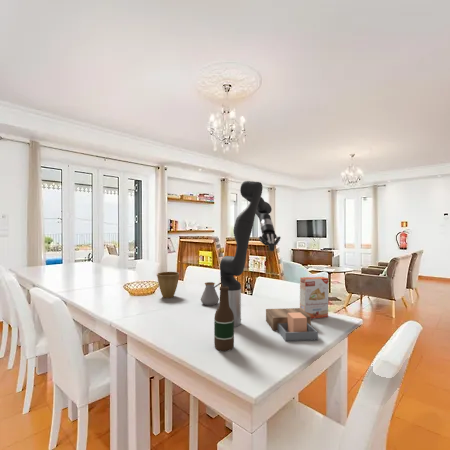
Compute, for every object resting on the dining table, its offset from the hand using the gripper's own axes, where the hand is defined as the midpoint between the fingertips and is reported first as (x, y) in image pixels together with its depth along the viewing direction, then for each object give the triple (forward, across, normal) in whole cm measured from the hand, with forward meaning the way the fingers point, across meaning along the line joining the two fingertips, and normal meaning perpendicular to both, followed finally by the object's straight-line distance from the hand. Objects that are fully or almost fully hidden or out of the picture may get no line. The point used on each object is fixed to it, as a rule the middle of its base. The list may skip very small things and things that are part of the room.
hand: (272, 250), depth 157 cm
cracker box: (+30, +21, +20) cm, 42 cm away
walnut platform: (+37, +3, +12) cm, 40 cm away
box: (+47, +3, +3) cm, 47 cm away
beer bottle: (+54, -30, -3) cm, 62 cm away
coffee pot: (+6, -29, +44) cm, 53 cm away
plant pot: (-6, -61, +56) cm, 83 cm away
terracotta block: (+40, +3, +3) cm, 41 cm away
